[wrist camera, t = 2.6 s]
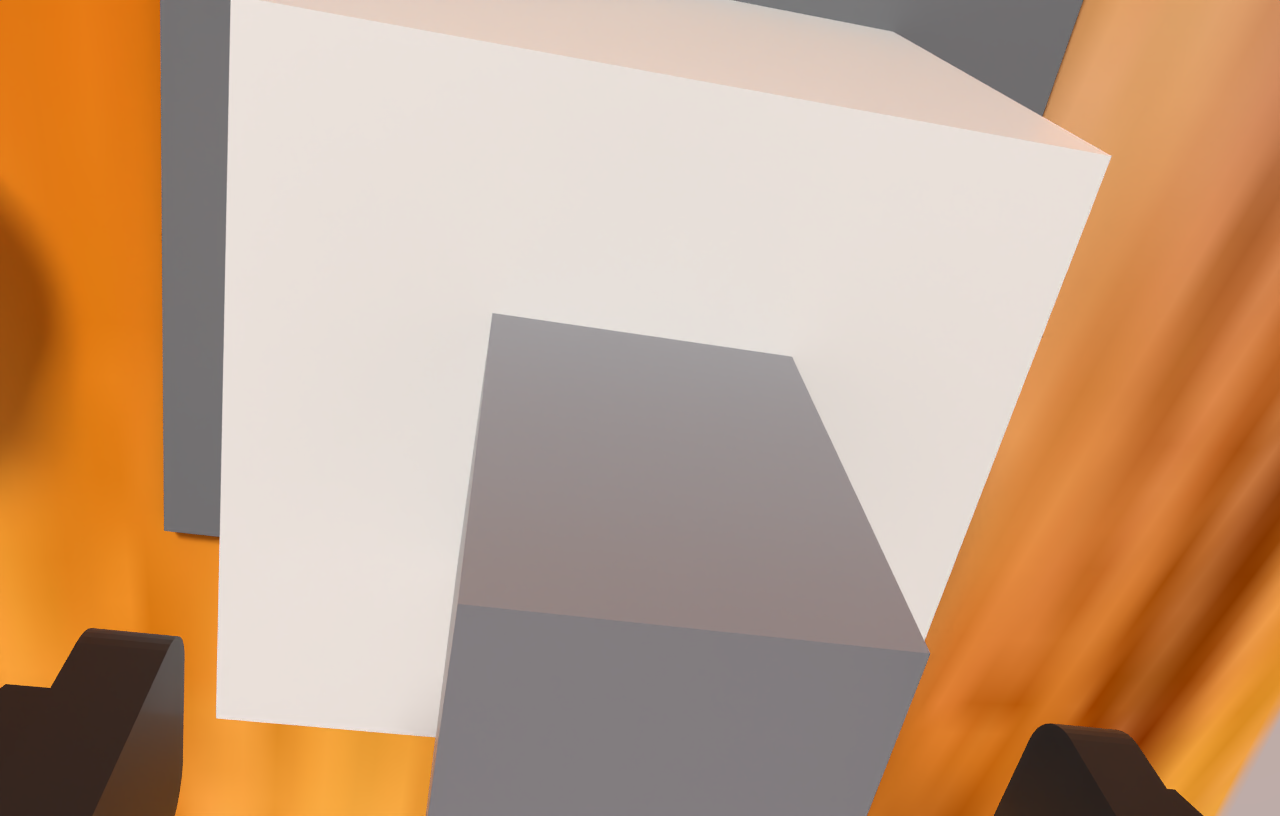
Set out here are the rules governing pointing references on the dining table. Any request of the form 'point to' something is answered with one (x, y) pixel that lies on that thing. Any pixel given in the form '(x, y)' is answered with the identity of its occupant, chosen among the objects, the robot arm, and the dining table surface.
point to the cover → (615, 386)
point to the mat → (197, 185)
